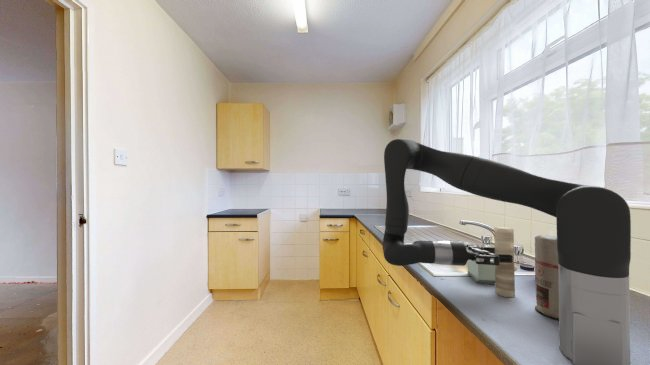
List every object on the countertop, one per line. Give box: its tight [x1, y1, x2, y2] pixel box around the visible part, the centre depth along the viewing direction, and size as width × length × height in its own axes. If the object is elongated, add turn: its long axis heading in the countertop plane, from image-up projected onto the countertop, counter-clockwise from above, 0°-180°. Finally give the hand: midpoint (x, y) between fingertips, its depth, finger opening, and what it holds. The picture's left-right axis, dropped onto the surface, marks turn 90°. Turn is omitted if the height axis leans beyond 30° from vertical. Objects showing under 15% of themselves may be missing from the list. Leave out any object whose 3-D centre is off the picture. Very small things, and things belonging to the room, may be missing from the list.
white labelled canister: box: [534, 234, 559, 320], centre depth 64 cm, size 8×8×20 cm
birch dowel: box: [493, 226, 516, 298], centre depth 75 cm, size 5×5×20 cm
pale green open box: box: [467, 258, 495, 285], centre depth 88 cm, size 9×9×7 cm
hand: (503, 254), depth 75 cm, fingers open, 8 cm apart
